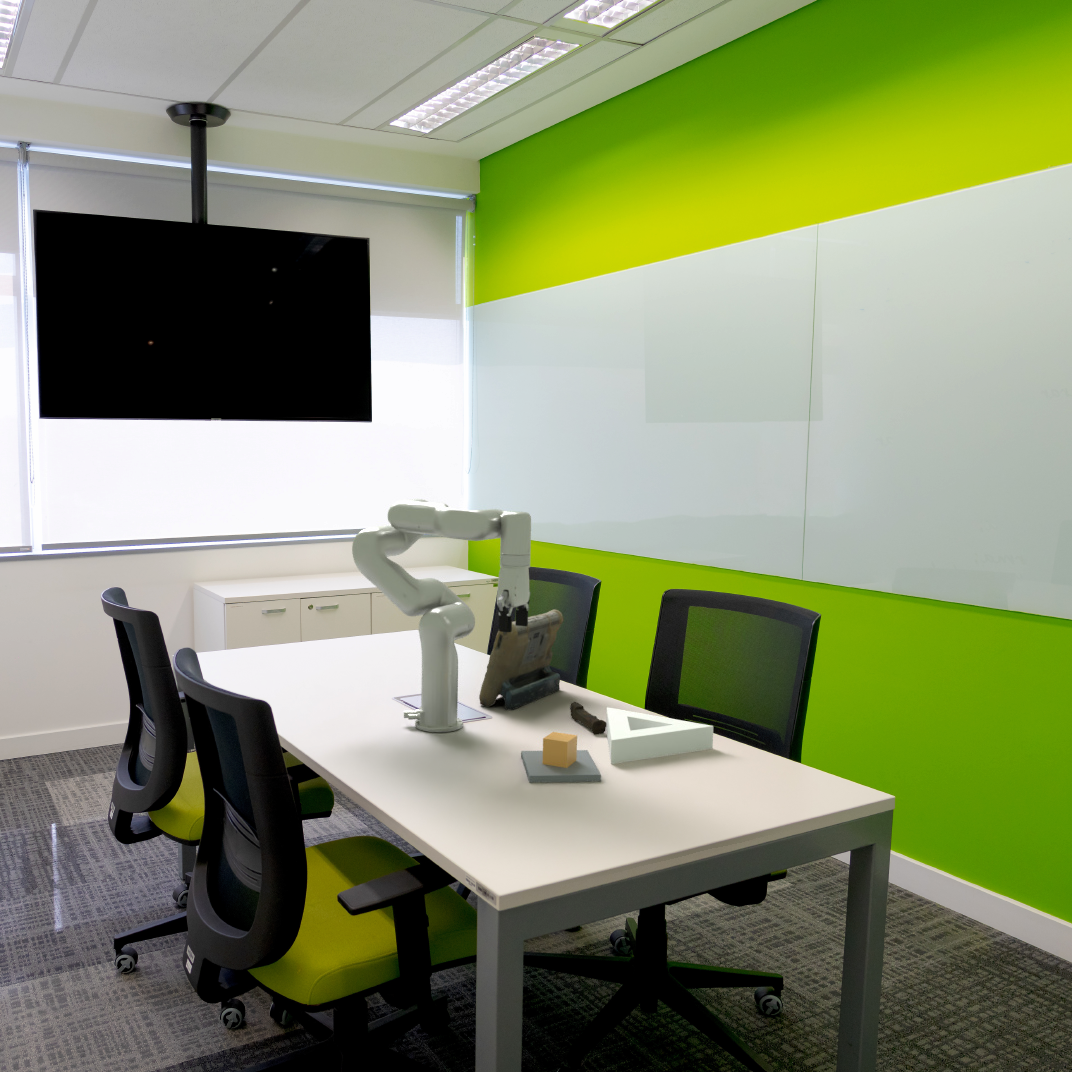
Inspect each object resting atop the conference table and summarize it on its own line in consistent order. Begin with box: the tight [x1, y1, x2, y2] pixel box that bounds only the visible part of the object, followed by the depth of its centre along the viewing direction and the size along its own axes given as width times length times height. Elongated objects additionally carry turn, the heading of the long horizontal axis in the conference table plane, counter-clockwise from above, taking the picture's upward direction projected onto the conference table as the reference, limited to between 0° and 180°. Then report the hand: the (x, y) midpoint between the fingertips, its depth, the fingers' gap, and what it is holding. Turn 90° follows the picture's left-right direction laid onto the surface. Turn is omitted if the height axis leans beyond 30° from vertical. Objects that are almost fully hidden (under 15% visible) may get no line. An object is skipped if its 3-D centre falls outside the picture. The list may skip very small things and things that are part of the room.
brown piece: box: [569, 701, 606, 736], centre depth 264 cm, size 19×4×5 cm, turn 19°
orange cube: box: [542, 731, 578, 768], centre depth 226 cm, size 6×6×6 cm
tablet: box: [478, 609, 564, 711], centre depth 291 cm, size 33×14×25 cm, turn 156°
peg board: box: [520, 749, 602, 783], centre depth 226 cm, size 16×18×6 cm
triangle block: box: [605, 706, 714, 765], centre depth 245 cm, size 30×26×6 cm
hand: (513, 628), depth 247 cm, fingers open, 9 cm apart
